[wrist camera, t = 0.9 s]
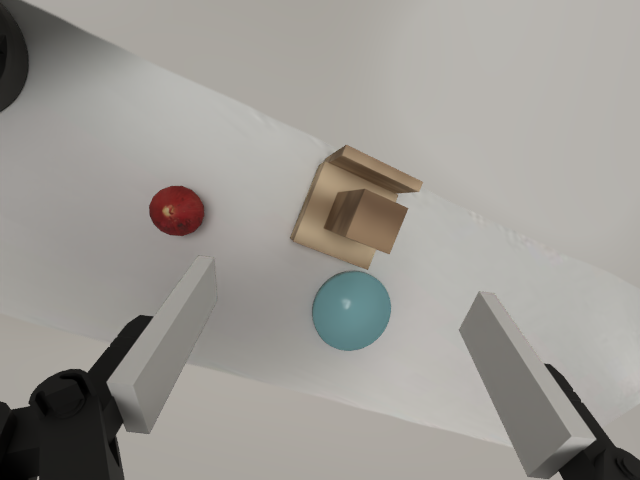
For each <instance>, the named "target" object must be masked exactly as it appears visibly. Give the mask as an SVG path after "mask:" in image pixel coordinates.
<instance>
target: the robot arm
mask: <svg viewBox="0 0 640 480" xmlns="http://www.w3.org/2000/svg"><path fill="white" fill-rule="evenodd" d="M27 70H28V55H27V49H26V44H25V41H24V38H23V35H22V33H21V31H20V29H19V27H18V25H17V23H16V22H15V20H14V19H13V17H12V16H11V14H10V13H9V12H8V11H7V9H6V8H5V7H4V6H3V5H2V4H1V3H0V111H1V110H3V109H4V108H6V107H7V106H8V105H9V104H10V103H11V102H12V101H13V100H14V99H15V98H16V97H17V95H18V94H19V92H20V91H21V89H22V87H23V85H24V82H25V79H26V75H27ZM216 302H217V289H216V275H215V262H214V257H207V256H199V255H198V257H197V258H196V259H195V261H194V262H193V264H192V265H191V266H190V268H189V269H188V270H187V272H186V273H185V275H184V276H183V277H182V279H181V280H180V281H179V283H178V284H177V286H176V287H175V288H174V290H173V291H172V292H171V294H170V295H169V297H168V298H167V299H166V301H165V302H164V303H163V305H162V306H161V308H160V309H159V310H158V312H157V313H156V315H155V316H154V317H153V316H145V315H139V316H138V317H136V318H135V319H133V320H132V321H131V322H129V323H128V324H127V325H126V326H125V327H124V328H123V329H122V331H121V332H120V333H119V334H118V337H117V338H115V339H114V341H113V342H112V343H111V344H110V347H108V348H107V349H106V350H105V352H104V353H103V354H102V355H101V357H100V358H99V359H98V360H97V362H96V363H95V364H94V365H93V367H92V368H91V369H90V370H89V371H88V373H87V372H85V371H82V370H81V369H69V370H66V371H62V372H59V373H57V374H55V375H53V376H51V377H49V378H47V379H46V380H45V381H43V382H42V383H41V384H39V385H38V386H37V388H36V389H35V390H34V391H33V393H32V394H31V397H30V400H29V404H30V406H29V407H24V408H18V409H13V410H11V409H10V408H9V406H8V405H7V404H6V403H4V402H0V480H37V477H38V476H39V480H124V474H123V469H122V463H121V458H120V452H119V447H118V441H117V437H116V434H117V432H118V430H119V429H120V427H121V425H122V424H124V426H125V429H126V431H127V432H136V433H144V434H150V432H151V430H152V428H153V426H154V424H155V422H156V420H157V418H158V416H159V414H160V412H161V410H162V408H163V406H164V404H165V402H166V400H167V398H168V396H169V394H170V392H171V390H172V388H173V387H174V384H175V383H176V381H177V379H178V377H179V375H180V373H181V371H182V369H183V367H184V365H185V363H186V361H187V359H188V357H189V355H190V353H191V351H192V349H193V347H194V345H195V343H196V341H197V339H198V337H199V335H200V333H201V331H202V329H203V327H204V325H205V323H206V321H207V319H208V317H209V315H210V313H211V312H212V310H213V308H214V306H215V304H216ZM459 331H460V333H461V336H462V338H463V340H464V342H465V344H466V346H467V348H468V351H469V353H470V355H471V357H472V359H473V361H474V363H475V365H476V368H477V370H478V372H479V374H480V376H481V378H482V380H483V383H484V385H485V387H486V389H487V391H488V393H489V395H490V398H491V400H492V402H493V404H494V406H495V408H496V410H497V412H498V415H499V417H500V419H501V421H502V423H503V425H504V427H505V430H506V432H507V434H508V436H509V438H510V440H511V442H512V445H513V447H514V449H515V451H516V453H517V455H518V457H519V459H520V462H521V464H522V466H523V468H524V470H525V472H526V474H527V476H528V477H534V478H543V479H549V478H551V477H552V476H553V475H554V474H556V473H557V472H558V471H559V472H560V474H561V476H562V478H563V480H640V460H639V459H637V458H636V457H635V456H633V455H632V454H630V453H629V452H627V451H625V450H623V449H621V448H617V447H616V446H615V445H614V444H613V443H612V441H611V440H610V439H609V437H608V436H607V435H606V433H605V432H604V431H603V429H602V428H601V427H600V425H599V424H598V422H597V421H596V420H595V418H594V417H593V416H592V414H591V413H590V412H589V410H588V409H587V407H586V406H585V405H584V403H581V399H580V398H579V397H578V395H577V394H576V393H575V392H573V388H572V387H571V386H570V384H569V383H568V382H567V380H566V379H565V378H564V376H563V375H562V374H560V373H559V372H558V371H557V370H556V369H555V368H554V367H553V366H552V365H550V364H543V362H542V361H541V359H540V358H539V356H538V355H537V354H536V352H535V351H534V349H533V348H532V346H531V345H530V344H529V342H528V341H527V339H526V338H525V336H524V335H523V334H522V332H521V331H520V329H519V328H518V326H517V325H516V324H515V322H514V321H513V319H512V318H511V316H510V315H509V314H508V312H507V311H506V309H505V308H504V306H503V305H502V304H501V302H500V301H499V299H498V298H497V296H496V295H495V294H494V293H489V292H481V291H479V292H478V294H477V296H476V298H475V300H474V302H473V304H472V306H471V308H470V310H469V312H468V313H467V315H466V317H465V319H464V321H463V323H462V325H461V327H460V329H459Z"/></svg>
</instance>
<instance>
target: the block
mask: <svg viewBox="0 0 640 480" xmlns="http://www.w3.org/2000/svg"><path fill="white" fill-rule="evenodd" d="M407 210H408V208H406V207H404V206H402V205H400V204H398V203H395V202H393V201H391V200H389V199H387V198H385V197H382V196H380V195H378V194H376V193H374V192H371V191H369V190H367V189H359V190H352V191H345V192H338V193H337V195H336V198H335V200H334V203H333V205H332V208H331V210H330V213H329V215H328V218H327V220H326V223H325V225H324V229H326V230H329V231H331V232H334V233H336V234H339V235H341V236H344V237H346V238H349V239H351V240H354V241H356V242H359V243H361V244H364V245H366V246H369V247H372V248H374V249H377V250H379V251H382V252H385V253H387V254H390V252H391V249H392V247H393V244H394V242H395V239H396V237H397V235H398V232H399V230H400V227H401V225H402V222H403V220H404V218H405V215H406V213H407Z"/></svg>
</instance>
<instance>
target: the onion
mask: <svg viewBox="0 0 640 480" xmlns="http://www.w3.org/2000/svg"><path fill="white" fill-rule="evenodd" d="M149 212H150V217H151V219H152V221H153V223H154V225H155V226H156V227H157V228H158V229H159V230H160V231H162V232H164V233H167V234H169V235H177V236H184V235H187V234H189V233H192V232H194V231H195V230H196V229H197V228H198V227H199V226H200V225H201V223H202V220H203V217H204V206H203V204H202V202H201V200H200V198H199V197H198V196H197V195H196V194H195V193H194V192H193V191H192V190H190V189H188V188H185V187H183V186H170V187H167V188H165V189H162V190H160V191H159V192H158V193H157V194H156V195H155V196H153V198H152V201H151V203H150V205H149Z"/></svg>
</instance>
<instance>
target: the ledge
mask: <svg viewBox="0 0 640 480" xmlns="http://www.w3.org/2000/svg"><path fill="white" fill-rule="evenodd" d="M422 183H423V182H422V181H420V180H418V179H416V178H413V177H411V176H409V175H407V174H405V173H403V172H401V171H399V170H397V169H395V168H393V167H391V166H389V165H387V164H385V163H383V162H380V161H379V160H377V159H375V158H373V157H370V156H368V155H366V154H364V153H362V152H360V151H358V150H356V149H354V148H352V147H350V146H348V145H345V146H344V147H342V148H341V149H339V150H338V151H336V152H335V153H333V154H332V155H330V156H329V157H327V158H326V159H325V161H324V162H323V163H322V164H320V165H319V166H318V169H317V171H316V174H315V176H314V179H313V181H312V184H311V187H310V189H309V192H308V194H307V197H306V199H305V202H304V204H303V207H302V209H301V212H300V214H299V217H298V219H297V222H296V224H295V227H294V229H293V232H292V234H291V237H290V238H291V239H292V241H293V242H296V243H299V244H301V245H304V246H306V247H309V248H312V249H314V250H317V251H320V252H322V253H325V254H327V255H330V256H333V257H335V258H338V259H341V260H343V261H346V262H348V263H351V264H354V265H356V266H359V267H362V268H364V269H367V270H368V268H369V266H370V263H371V261H372V258H373V256H374V253H375V251H376V249H374V248H372V247H369V246H366V245H364V244H361V243H359V242H356V241H354V240H351V239H349V238H346V237H344V236H341V235H339V234H336V233H334V232H331V231H329V230H326V229H324V225H325V223H326V220H327V218H328V215H329V213H330V210H331V208H332V205H333V203H334V200H335V198H336V195H337V193H338V192H345V191H352V190H359V189H367V190H369V191H371V192H374V193H376V194H378V195H380V196H382V197H385V198H387V199H389V200H391V201H393V202H396V200H397V197H398V195H397V194H396V193H409V192H419V191H420V188H421V186H422Z"/></svg>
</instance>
